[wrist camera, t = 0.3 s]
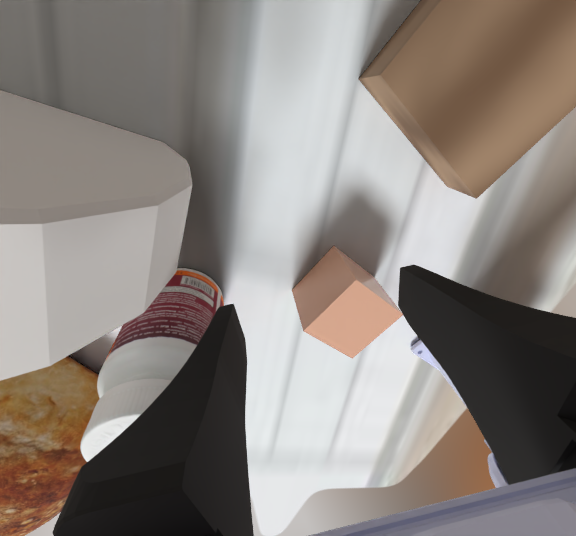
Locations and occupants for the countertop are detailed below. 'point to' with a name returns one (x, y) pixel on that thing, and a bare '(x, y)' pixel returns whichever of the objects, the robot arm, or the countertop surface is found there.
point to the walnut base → (477, 82)
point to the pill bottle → (150, 355)
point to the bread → (42, 441)
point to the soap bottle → (80, 229)
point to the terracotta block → (343, 304)
